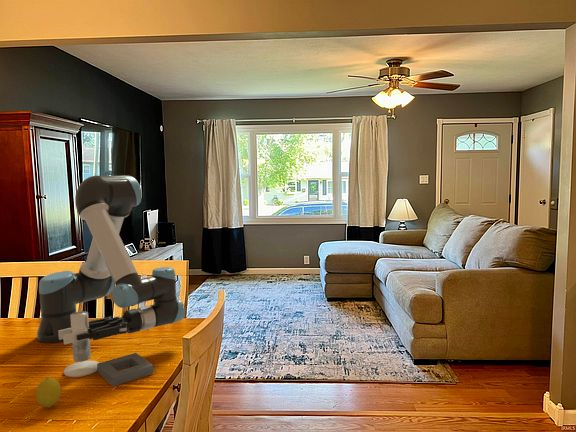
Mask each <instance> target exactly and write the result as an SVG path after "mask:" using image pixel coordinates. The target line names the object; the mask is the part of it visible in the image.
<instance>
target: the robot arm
mask: <svg viewBox="0 0 576 432" xmlns="http://www.w3.org/2000/svg"><path fill="white" fill-rule="evenodd" d="M142 198H143V192H142V188H141V185H140V183H139V182H138V180H137V179H136V178H135V177H134V176H131V175H124V174H121V175H92V176H89V177H87V178H85V179H84V180H83V181H82V182H80V184H79V186H78V187H77V189H76V192H75V198H74V203H75V208H76V212H77V214H78V216H79V218H80V219H81V220H83V221H85V223H86V225H87V227H88V230H89V231H90V234H91V235H92V240H91V244H90V247H89V251H88V253H87V258H86V260H85V262H83V263H81V265H80V267H79V270H78V272H74V271H71V270H64V271H58V272H53V273H50V274H47V275H45V276H43V277H42V278H41V279H40V280H39V284H38V293H39V303H40V318H41V319H40V321H39V326H38V329H37V332H36V338H37V339H36V340H37V341H38V342H40V343H47V344H48V343H60V342H63V345H68V344H72V343H74V342H78V341H82V340H86V339H88V338H89V339H90V340H93V341H96V340H97V341H98V340H101V339H105V338H109V337H113V336H114V337H115V336H117V335H123V334H133V333H137V332H140V331H145V330H146V331H149V330H150V329H154V328H157V327H161V326H165V325H172V324H174V323H177V322H180V321H181V320H183V319H184V317H185V313H186V309H185V305H184V303H183V301H182V300H181V299H178V298H177V279H176V278H177V277H176V271H175V268H173V267H170V266H163V267H162V266H161V267H156V268H154V269H152V273H151V276H148V277H144V278H143V277H142V278H141V277H140V275H139V273H138V271H137V269H136V267H135V264H134V263H133V261H132V259H131V257H130V255H129V253H128V250H127V249H126V247H125V244H124V243H123V242H124V241H123V240H122V238H121V236H120V232H121V228H122V225H123V222H124V220H125V218H127V217H128V216H130V214H131V211H132V208H134V207H135V208H136V207H137V206H139V205H140V203H142ZM108 295H112V301H113V303H114V304H115V305H116V306H117V307H118V308H121V309H123V308H129V307H134V306H136V305H139V304H142V303H145V302H149V301H152V300H153V304H151V305H144V306H140V307H137V308H131V309H127V310H125V311H124V312H123V315H122V316H121V317H120V316H114V317H113V315H110V316H107V317H106V316H105V317H103V318H98V319H93V320H90V321H89V320H88V321H89V328H88V330H83V331H78V332H74V333H72V331H71V317H70V315H71V314H72V313H75V312H77V304H81V303H86V302H89V301H90V302H91V301H94V300H99V299H102V298H104V297H107V296H108Z"/></svg>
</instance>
